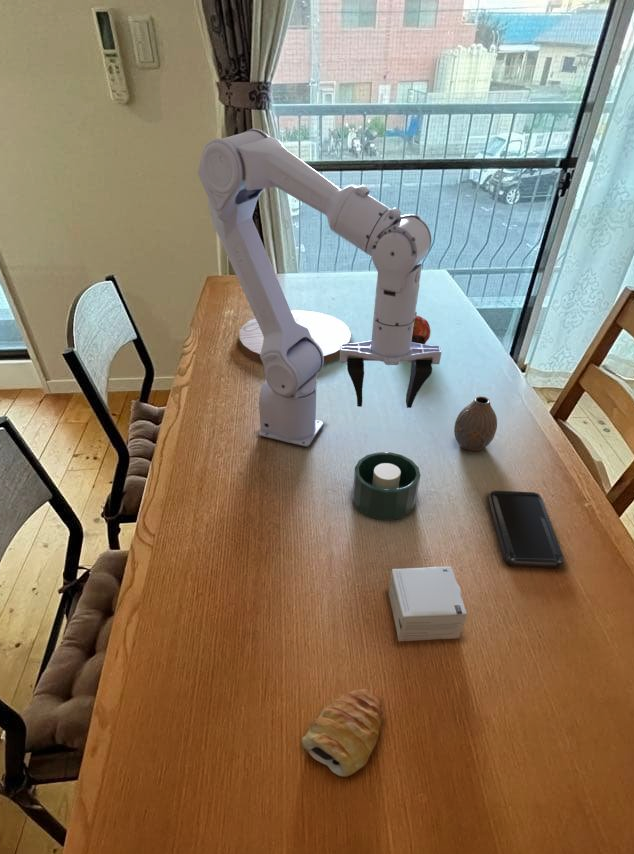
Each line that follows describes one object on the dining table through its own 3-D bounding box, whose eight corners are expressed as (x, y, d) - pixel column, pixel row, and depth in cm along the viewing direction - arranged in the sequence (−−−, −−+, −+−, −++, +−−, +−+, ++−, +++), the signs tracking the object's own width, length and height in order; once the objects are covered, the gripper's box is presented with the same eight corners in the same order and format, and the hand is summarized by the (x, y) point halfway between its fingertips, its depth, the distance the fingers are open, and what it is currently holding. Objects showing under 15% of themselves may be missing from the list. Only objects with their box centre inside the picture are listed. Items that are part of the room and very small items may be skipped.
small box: (386, 593, 73) (391, 567, 69) (445, 590, 73) (453, 564, 70) (397, 642, 67) (402, 617, 64) (460, 640, 68) (469, 614, 64)
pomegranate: (426, 364, 122) (437, 323, 123) (421, 347, 115) (433, 304, 116) (393, 361, 125) (405, 320, 126) (387, 344, 118) (399, 301, 119)
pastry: (345, 685, 63) (347, 666, 60) (397, 716, 61) (401, 699, 58) (297, 750, 58) (297, 733, 55) (352, 788, 55) (354, 773, 52)
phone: (507, 560, 75) (489, 490, 86) (505, 566, 76) (487, 495, 87) (566, 563, 75) (540, 492, 86) (563, 568, 76) (538, 497, 87)
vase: (491, 458, 94) (505, 413, 88) (450, 453, 95) (460, 408, 89) (490, 435, 99) (503, 391, 93) (451, 431, 100) (461, 387, 94)
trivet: (249, 374, 114) (248, 365, 113) (232, 323, 131) (231, 315, 130) (364, 361, 118) (365, 352, 117) (333, 313, 136) (334, 306, 134)
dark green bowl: (344, 510, 84) (346, 482, 81) (363, 474, 91) (366, 446, 87) (405, 526, 82) (410, 498, 78) (421, 488, 88) (426, 460, 84)
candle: (367, 501, 85) (370, 475, 82) (375, 486, 88) (378, 460, 84) (392, 507, 84) (396, 482, 81) (399, 492, 87) (403, 466, 83)
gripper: (342, 329, 74) (337, 416, 84) (450, 331, 74) (433, 418, 84) (341, 307, 79) (337, 392, 89) (443, 309, 79) (428, 394, 89)
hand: (383, 403), depth 87 cm, fingers open, 7 cm apart
